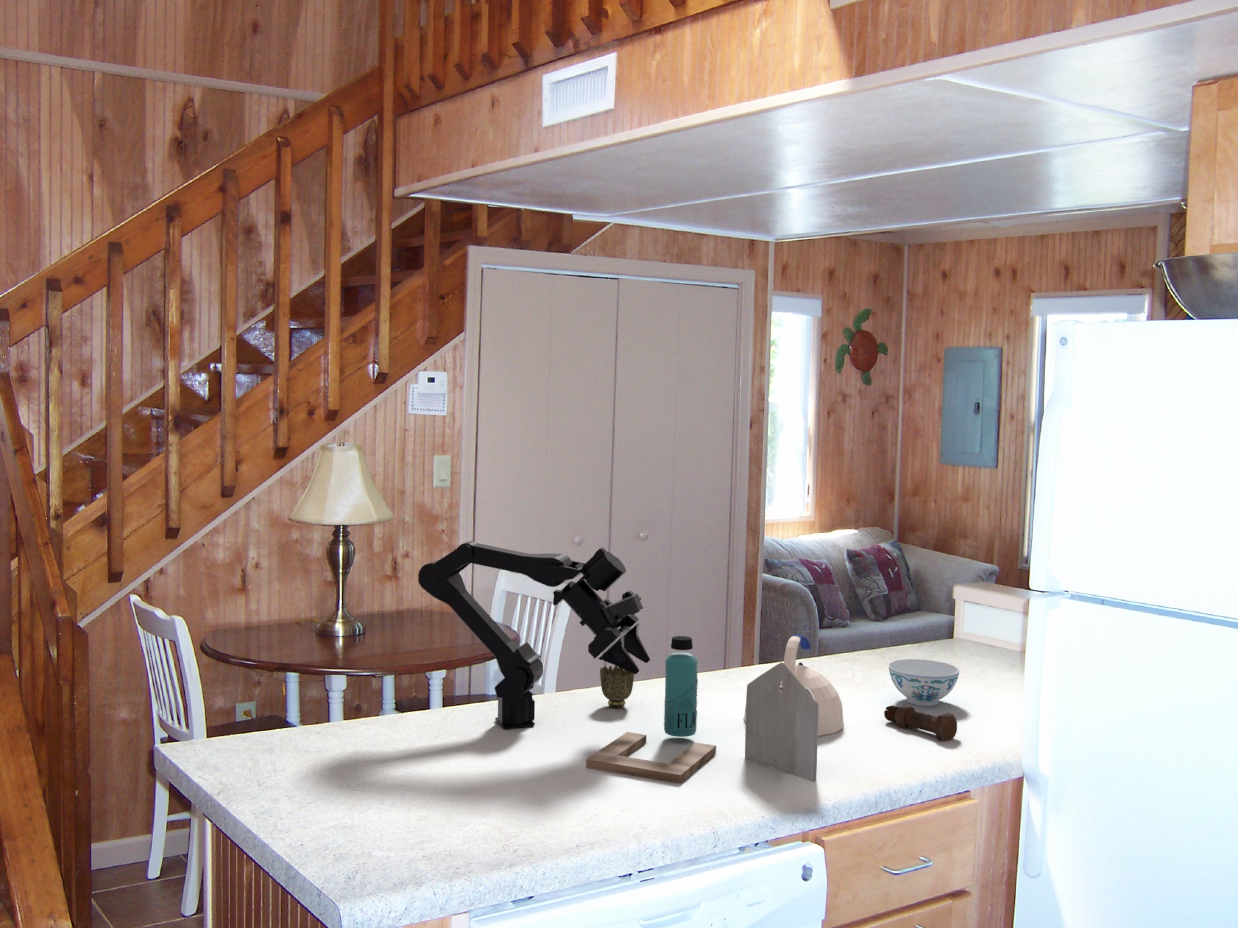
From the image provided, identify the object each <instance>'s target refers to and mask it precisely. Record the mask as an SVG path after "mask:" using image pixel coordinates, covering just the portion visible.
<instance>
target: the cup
mask: <svg viewBox="0 0 1238 928" xmlns="http://www.w3.org/2000/svg"><path fill="white" fill-rule="evenodd" d="M599 670H600V671H599V676H600V677H599V678H600V685H601V691H602V694H603V696H604V697H605V698H606V699H608V701H607V705H608V706H609V707H611V708H615V709H620V708H621V709H622V708H623V707H624V706H626V700H627V699H629V697H630V696H631V695H632V691H633V687H634V681H635V674H633V673H631V672H629V671H627V670H625V669H622V668H620V667H618V666H616V665H614V667H612V665H609V667H607V666H605V665H604V666H603V667H600V669H599Z"/></svg>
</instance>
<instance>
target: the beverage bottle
mask: <svg viewBox="0 0 1238 928" xmlns="http://www.w3.org/2000/svg"><path fill="white" fill-rule="evenodd" d="M693 646H694V645H693V638H692V637H691V636H686V635H677V636H676V635H675V636H673V637H672V638H671V644H670V649H672V650H676V651H679V652H673V653H671V654H669V655H668V656H667V657H666V659H665V662H664V663H665V676H664V677H665V680H664V681H665V686H664V688H665V689H664V691H665V692H664V694H665V696H664V706H663V707H664V714H663V718H664V719H663V720H664V721H663V729H664V734H666V735H668V736H672V737H679V738H687V737H691V736H694V735H695V734H696V731H697V728H698V725H697V724H698V722H697V720H698V708H697V707H698V694H699V693H698V691H699V690H698V688H699V687H698V686H699V685H698V682H699V680H698V679H699V678H698V663H699V662H698V658H696V657H695V655H693V654H691V653H690V652H680V651H689V650H692V649H693Z"/></svg>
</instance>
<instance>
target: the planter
mask: <svg viewBox="0 0 1238 928" xmlns="http://www.w3.org/2000/svg"><path fill="white" fill-rule="evenodd" d="M781 681H782V686H783V687H779V686H780V684H781V683H780V682H781ZM745 700H746V701H745V707H746V722H745V733H744V734H745V735H744V736H745V740H744V743H745V744H744V758H745V759H747V760H749V761H752V762H756V763H758V764H761V765H764V766H766V767H770V768H772V769H775V770H779V771H782V772H784V773H788V774H791V775H794V776H796V777H799V778H802V779H805V780H808V781H811V782H816V781H817V772H818V768H817V765H818V764H817V763H818V738H819V736H818V703H817V701H816V699H815V697H814V695H813V693H812V692H811V691H810V689H809V688H804V686H803V685H802V684H801V683H800V682H799V680H798V679H797V678H796V677H795V676H794V675H793V673H792V672H791V671H790V670H789V669H788V667H787V666H786V665H785V664H784V662H779V663H777V664H776V665H774V666H772V667H771V668H770V669H768V670H766V671H765V672H764V673H762V674H760V675H759V676H757V677H756V678H754V679H753V680H752V681H750V682H749V683H748V684H747V685H746V699H745Z"/></svg>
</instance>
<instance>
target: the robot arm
mask: <svg viewBox="0 0 1238 928" xmlns="http://www.w3.org/2000/svg"><path fill="white" fill-rule="evenodd" d="M471 564H474V565H479V566H483V567H488V568H493V569H498V570H503V571H507V572H511V573H517V574H521V575H523V576H526V577H528V578H529V579H531V580H533V581H534V582H537V583H540V584H542V585H544V586H547V587H550V588H556V587H558V586H560V585H563V584H564V583H566V582H568V583H567V584H566V585H565V586H564V587H563V588H562V589H556V590H554V591H553V592H552V593H553V599H552V605H553V606H558V605H559V604H561V603H562V602H563V601H564V602H565V604H567V606H568V607H569V608H570V609H571V610H572V611H573V613H575V615H576V616H577V617H578V618H579V619H580V621H579V624H580V625H581V626H582V627H584V626H586V627H587V628H588V629H589V631H590V632H592V634H593V635H594V638H593V640H592V641H591V642H589V643H588V646H587V649H588V653H589V654H590V656H591V657H592V658H593V659H594V660H595V659H597V657H598V660H599V661H603V662H606V663H608V664H611V665H613V666H617V667H620V668H622V669H623V670H624V669H625V670H627V671H629V672H631V673H633V674H634V675H637V674H638V673H639V672H640V668H639V667H638V665H637V664H636V662H635V661H634V659H633V657H635V658H636V659H638V660H640V661H641V662H644V663H645V664H647V663H648V662H650V661H651V658H650V656H649V654H648V652H647V650H646V648H645V645H644V644H643V642H642V640H641V638H640V635H639V627H640V622H638V621H639V620H640V618H638V617H637V615H636V614H638V613H639V612H641V610H644V606H643V605H642V602H641V600H642V598H641V596H639V594H638V593H634V592H633V590H631V589H629V590H627V591H625V592H623V593H622V594H621V595H622V596H621V599H620V600H618V601H615V602H613V603H612V602H611V600H610V599H607V598H605V599H603V598H602V597H601V596H600V595H599V594H598V593H597V592H599V591H602V592H606V591H608V590H609V589H610V588H611V587H612V586H613V585H614V584H615V583H616V582H618V580H619V579H621V577H622V576H623V575H624V574H626V573H627V569H626V566H625V565H624V563H623V562H622V561H621V560H620V559H619V557H617V556H616V555H614V554H613V553H611V552H610V551H608V550H606V549H605V548H604V547H603V546H602V547H600V548H599V549H597V551H595V553H594V554H593V555H592V557H591V558H589V559H588V560H587V561H586V562H581V561H577V560H576V561H575V560H572V559H571V558H570V556H568V555H566V554H565V553H547V552H546V553H528V552H523V551H517V550H513V549H508V548H503V547H497V546H493V545H488V544H483V543H479V542H477V541H474V540H469V541H465V542H463V543H461V544H459V545H458V547H456V548H455V549H454V550H453V551H451V552H449V553H448V554H447V555H445V556H443V557H442V558H440V559H436V560H433V561H432V562H428V563H425V564H424V565H423V566H421V568H420V569H419V571H418V574H417V576H418V577H417V582H418V584H419V586H420V587H421V588H422V589H423V590H424V591H425V592H426V593H428V594H429V595H430V596H431V597H433V598H434V599H436V600H438V601H441V602H442V603H444V604H446V605H448V606H449V607H450V609H451V610H452V611H453V612H454V613H455V614H456V615H457V616H458V617H459V619H460V620H461V621H462V622H463V623H464V624H465V625H466V626H467V628H468V629H469V630H470V631H471V632H472V633H473V635H475V636H476V637H477V639H478V640H479V641H480V642H481V643H482V644H483V645H484V646H485V647H486V648H487V650H488V651H489V652H490V653H491V654H492V656H494V658H495V660H496V662H497V666H498V668H499V671H500V673H501V675H502V676H503V678H502V680H500V681H499V682H498V683H497V684H496V685H495V686H494V691H495V695H496V697H497V717H495V719H494V720H495V721H496V722H497V724H498V725H499V726H500V727H501V728H503V729H505V730H506V729H507V730H508V729H516V728H527V727H534V726H536V725H535V724H536V723H535V722H534V721H535V716H536V715H535V711H536V709H535V708H536V705H535V704H536V703H535V702H536V701H535V700H534V699H533V692H531V690H532V689H533V688H534V686H535V684H536V683H537V682H538V681H539V680H540V679H541V678H542V677H543V673H544V664H543V662H542V661H541V659H540V658H541V656H542V655H540V654H539V653H537V652H536V651H534V649H533V647H532V646H531V644H530V643H528V642H525V643H522V645H520V644H518V643H516V642H514V641H513V640H512V639H511V638H510V636H508V635H507V634H506V632H505V631H504V630H503V629H502V628H501V627H500V626H499V624H497V622H496V621H495V620H494V619H493V618H492V617H491V616H490V615H489V614H488V612H487V611H486V610H485V609H484V608H483V607H482V605H481V604H479V602H478V601H477V600H476V599H475V598H474V597H473V596H472V594H471V593H469V591H468V590H467V589H466V585H465V583H464V580H463V577H462V575H461V572H462V571H463V570H465V569H466V568H467V567H468V566H469V565H471ZM580 575H583V576H582V577H580V578H578V580H577V581H572V580H573V579H575V578H577V577H578V576H580ZM569 580H571V581H569ZM601 654H602V655H601ZM632 656H633V657H632Z"/></svg>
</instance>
